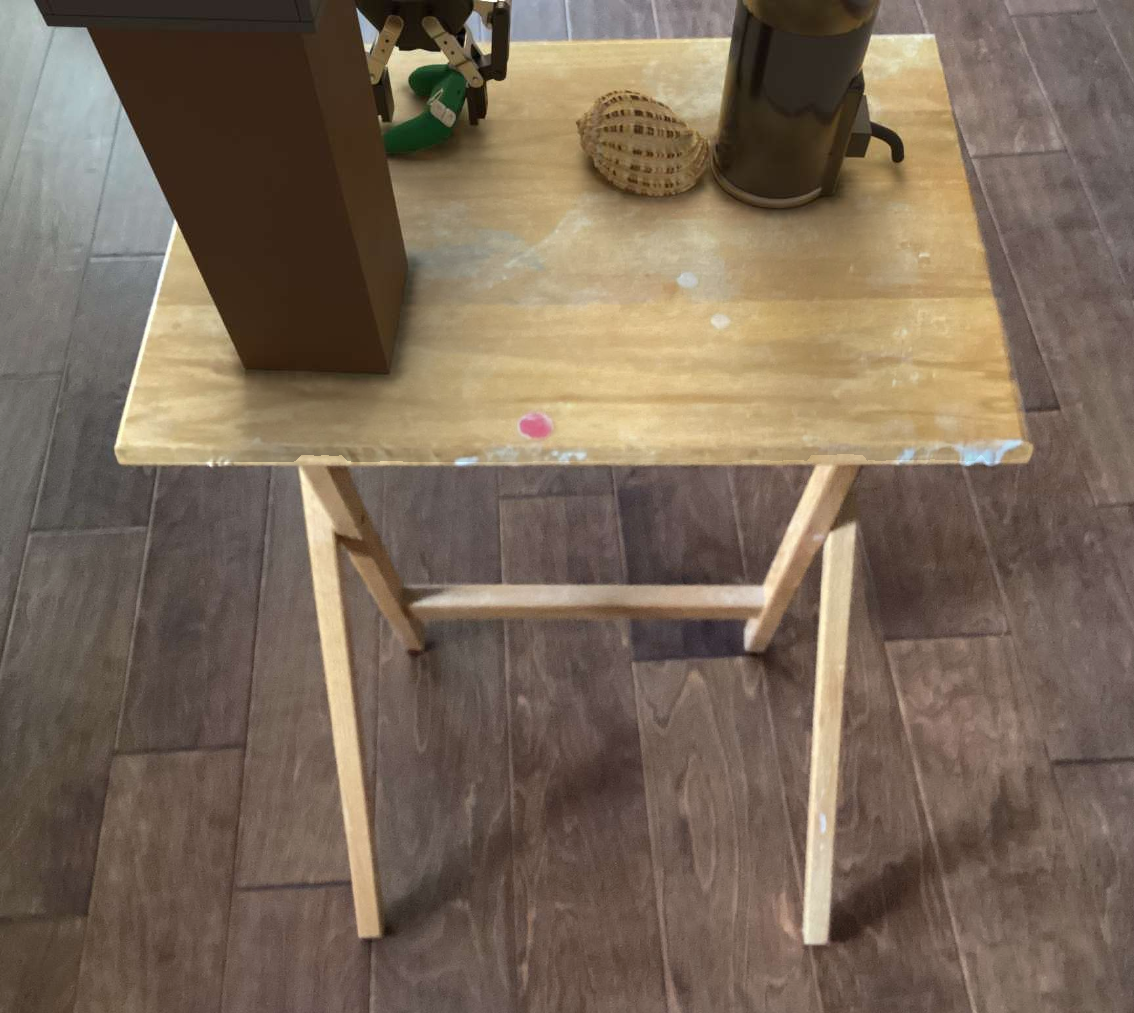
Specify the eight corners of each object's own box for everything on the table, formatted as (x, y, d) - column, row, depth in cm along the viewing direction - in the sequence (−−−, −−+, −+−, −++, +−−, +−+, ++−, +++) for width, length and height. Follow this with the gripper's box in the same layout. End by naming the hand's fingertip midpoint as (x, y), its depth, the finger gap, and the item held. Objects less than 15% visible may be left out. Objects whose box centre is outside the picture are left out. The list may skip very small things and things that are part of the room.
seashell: (668, 154, 82) (560, 123, 77) (706, 94, 77) (593, 58, 73) (689, 220, 78) (576, 192, 73) (730, 162, 73) (613, 127, 69)
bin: (425, 254, 72) (336, -245, 45) (403, 387, 66) (285, -96, 39) (261, 248, 73) (73, -250, 45) (224, 381, 66) (-19, -103, 39)
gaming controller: (412, 179, 79) (458, 143, 75) (374, 147, 77) (420, 108, 72) (442, 104, 83) (488, 67, 79) (407, 72, 81) (452, 32, 77)
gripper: (281, -68, 63) (335, 146, 77) (505, -62, 62) (518, 152, 77) (303, -131, 66) (351, 84, 81) (515, -126, 66) (525, 90, 80)
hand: (432, 117), depth 79 cm, fingers closed on gaming controller, 6 cm apart
